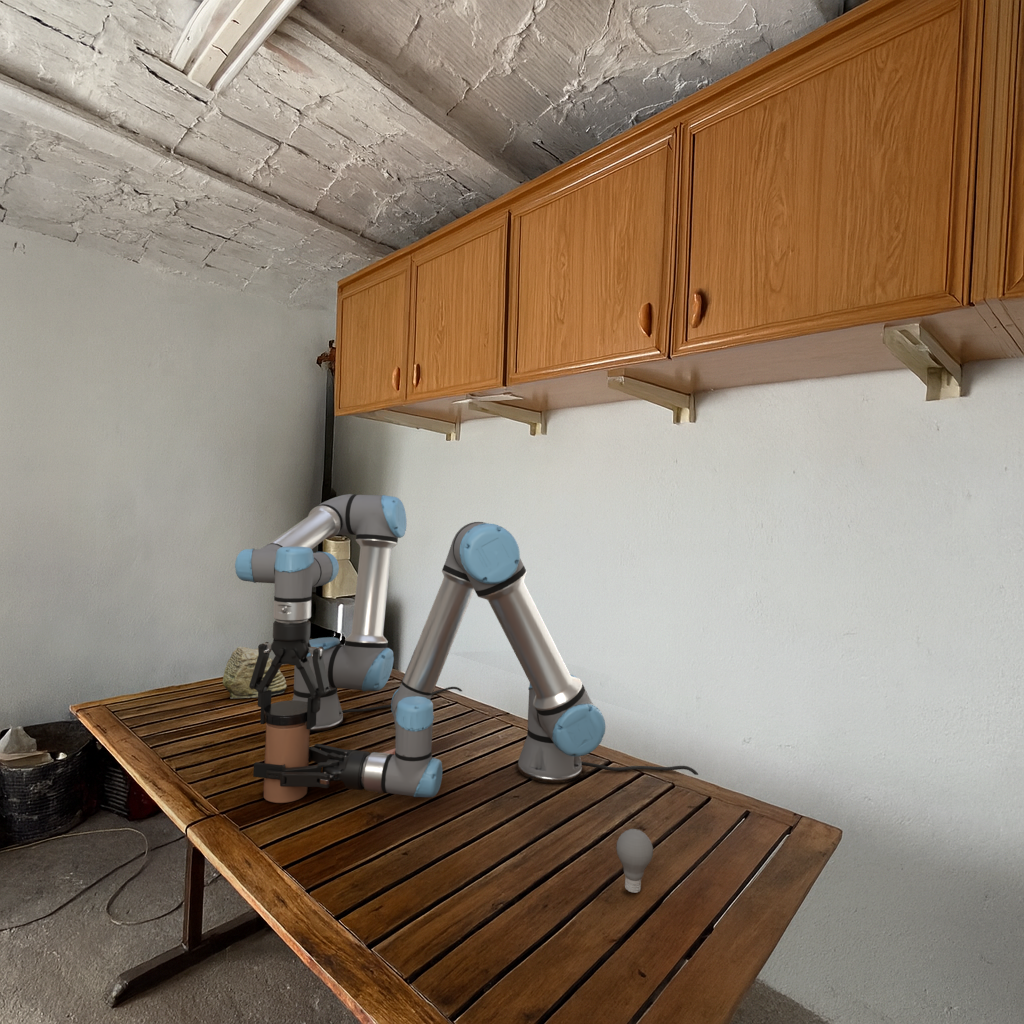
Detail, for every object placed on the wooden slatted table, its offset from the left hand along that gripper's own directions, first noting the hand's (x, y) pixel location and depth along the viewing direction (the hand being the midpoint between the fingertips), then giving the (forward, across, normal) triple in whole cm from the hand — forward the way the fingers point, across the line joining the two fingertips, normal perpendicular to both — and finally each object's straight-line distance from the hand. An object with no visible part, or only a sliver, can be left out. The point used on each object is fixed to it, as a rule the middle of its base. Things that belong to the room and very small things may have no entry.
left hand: (288, 724), depth 134 cm
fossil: (+15, -42, +57) cm, 73 cm away
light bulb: (+15, +72, -17) cm, 76 cm away
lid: (-3, 0, 0) cm, 3 cm away
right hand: (+8, -5, 0) cm, 9 cm away
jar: (+15, 0, 0) cm, 15 cm away
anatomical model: (+15, +16, +20) cm, 30 cm away
